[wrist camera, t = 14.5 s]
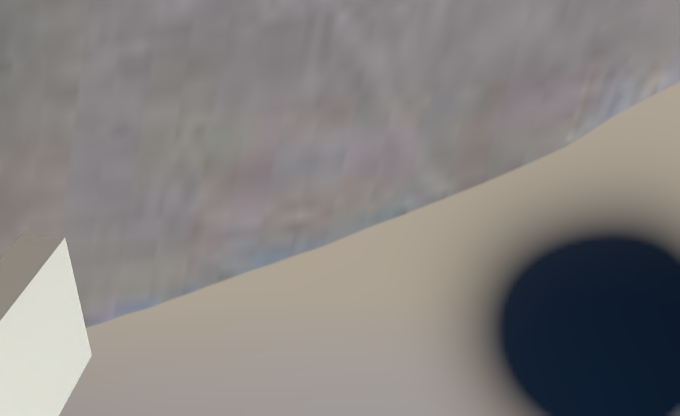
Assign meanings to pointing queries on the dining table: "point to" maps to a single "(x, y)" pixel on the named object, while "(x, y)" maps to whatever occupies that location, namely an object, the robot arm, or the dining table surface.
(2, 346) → the robot arm
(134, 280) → the dining table surface
